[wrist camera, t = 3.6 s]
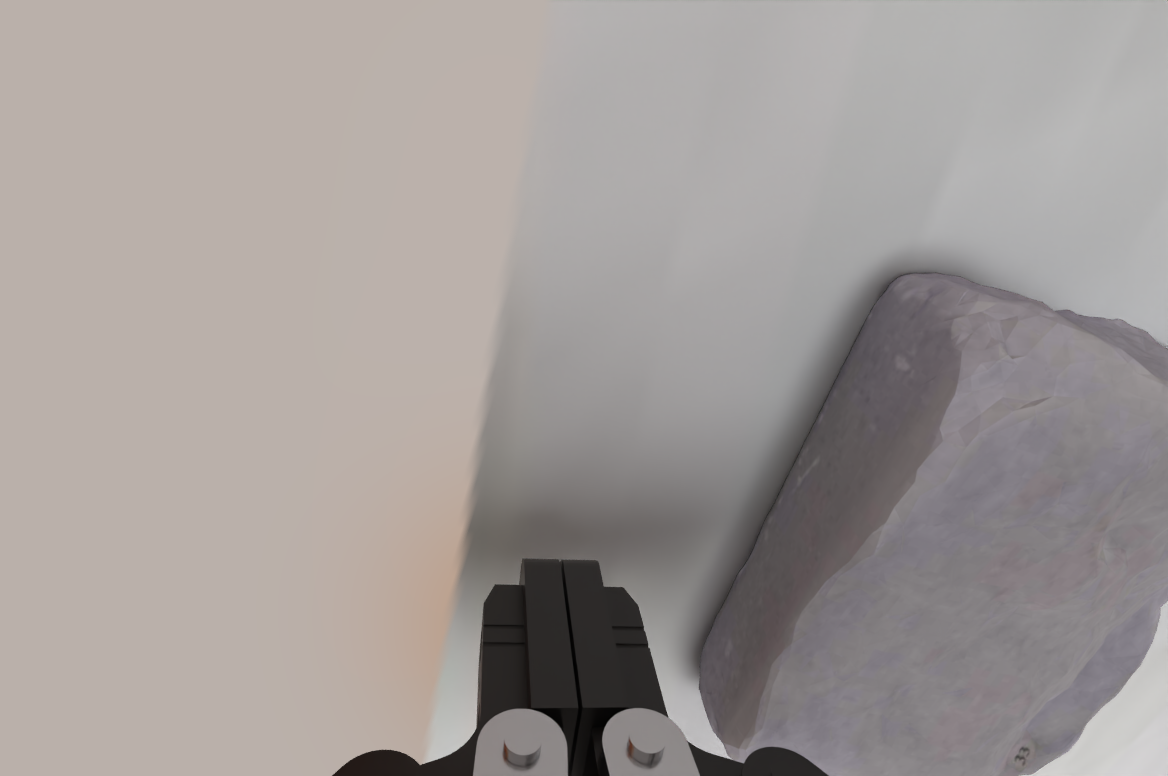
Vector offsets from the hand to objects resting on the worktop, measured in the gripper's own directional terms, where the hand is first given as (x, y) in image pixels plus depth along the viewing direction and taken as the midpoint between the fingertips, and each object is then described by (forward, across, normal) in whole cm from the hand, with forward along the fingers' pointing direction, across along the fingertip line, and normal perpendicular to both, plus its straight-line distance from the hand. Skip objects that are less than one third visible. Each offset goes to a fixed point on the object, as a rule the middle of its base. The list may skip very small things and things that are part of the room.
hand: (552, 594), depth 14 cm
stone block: (+2, -10, -1) cm, 10 cm away
